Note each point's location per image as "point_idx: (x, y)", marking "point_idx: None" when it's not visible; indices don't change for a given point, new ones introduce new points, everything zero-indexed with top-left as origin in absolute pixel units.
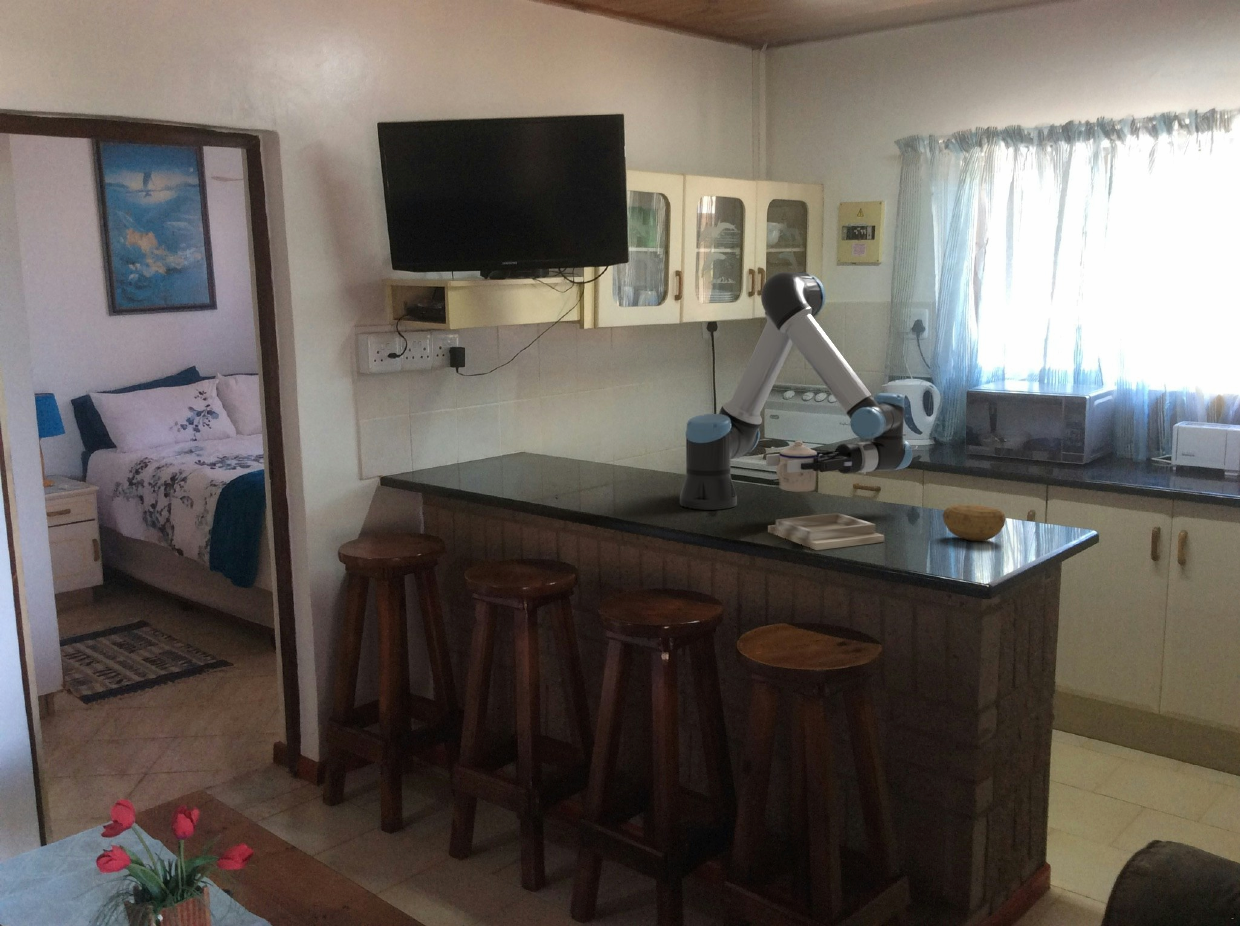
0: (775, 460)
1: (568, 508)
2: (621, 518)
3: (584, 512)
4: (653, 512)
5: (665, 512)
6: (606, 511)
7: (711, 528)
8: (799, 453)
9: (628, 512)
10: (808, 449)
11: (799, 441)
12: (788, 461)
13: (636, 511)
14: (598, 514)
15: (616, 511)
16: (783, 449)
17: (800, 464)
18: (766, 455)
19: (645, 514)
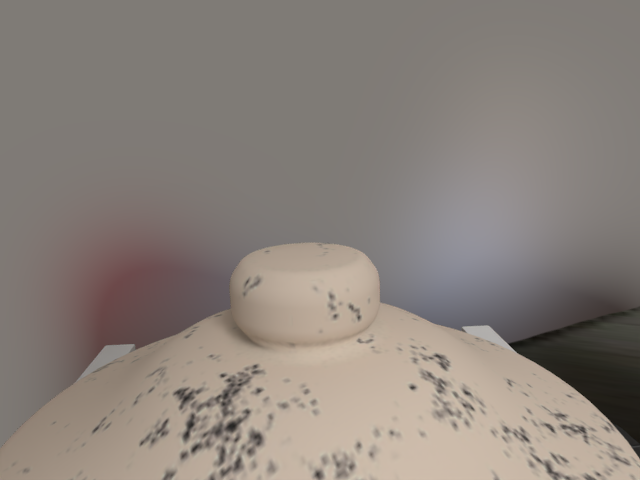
0: None
1: (636, 316)
2: (520, 350)
3: (591, 324)
4: (619, 405)
5: (627, 426)
6: (613, 346)
7: None
8: (111, 363)
9: (607, 369)
10: (110, 448)
11: (286, 257)
12: (115, 347)
13: (627, 382)
14: (569, 333)
15: (617, 356)
16: (482, 339)
17: None
18: (482, 328)
19: (581, 387)
